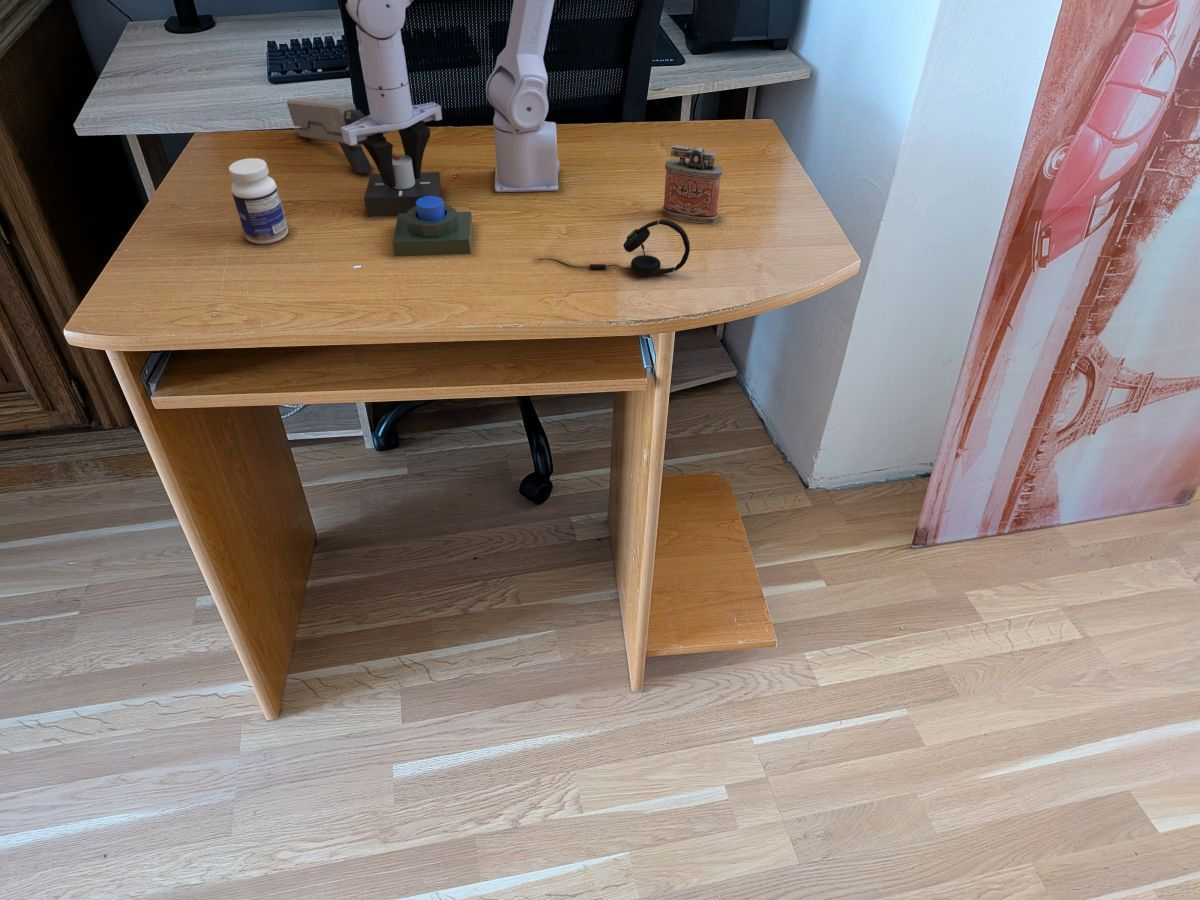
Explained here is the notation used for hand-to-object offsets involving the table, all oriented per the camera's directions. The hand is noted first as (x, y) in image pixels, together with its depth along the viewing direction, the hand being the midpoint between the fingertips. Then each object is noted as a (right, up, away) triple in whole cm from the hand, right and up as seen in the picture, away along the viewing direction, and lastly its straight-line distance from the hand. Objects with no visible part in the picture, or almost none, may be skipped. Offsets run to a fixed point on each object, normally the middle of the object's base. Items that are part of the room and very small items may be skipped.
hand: (402, 180), depth 120 cm
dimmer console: (0, -3, +2) cm, 3 cm away
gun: (-14, +9, +15) cm, 23 cm away
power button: (+6, -7, -8) cm, 13 cm away
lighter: (+41, -5, 0) cm, 42 cm away
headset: (+30, -14, -9) cm, 35 cm away
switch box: (+6, -10, -6) cm, 13 cm away
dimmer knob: (0, 0, 0) cm, 0 cm away
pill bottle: (-17, -9, -5) cm, 20 cm away
